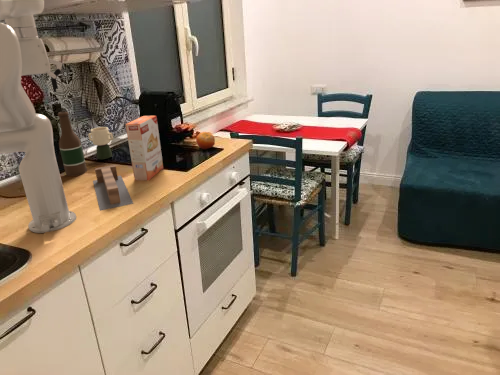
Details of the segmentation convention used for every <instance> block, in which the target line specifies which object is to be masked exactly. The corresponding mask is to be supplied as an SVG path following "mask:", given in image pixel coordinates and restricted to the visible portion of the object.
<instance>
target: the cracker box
mask: <svg viewBox="0 0 500 375" xmlns="http://www.w3.org/2000/svg"><path fill="white" fill-rule="evenodd" d="M157 117H158V116H157V115H143V116H142V115H141V116H140V117H138V118H136V119H134V120H131V121H129V122H127V123H125V129H126V135H127V143H128V147H129V154H130V159H131V167H132V171H133V178H134V181H150V180H151V179H152V178H153V177H154V176H155V175H157V174H158V173H159V172H160V171H162V170H164V163H163V156H162V150H161V149H162V146H161V140H160V133H159V124H158V118H157Z"/></svg>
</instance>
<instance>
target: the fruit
mask: <svg viewBox="0 0 500 375" xmlns="http://www.w3.org/2000/svg"><path fill="white" fill-rule="evenodd" d="M195 140H196V144H197V146H198V147H199V148H200V149H201V150H208V149H210V148H213V147H214V146H215V144H216V143H215V142H216V139H215V136H214V135H213V134H212V133H211V132H207V131H202V132H200V133H199V134H198V135H197V136H196V137H195Z"/></svg>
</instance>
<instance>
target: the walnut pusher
mask: <svg viewBox="0 0 500 375" xmlns="http://www.w3.org/2000/svg"><path fill="white" fill-rule="evenodd" d="M94 171H95V175H96V180H97V182H98V183H102V182H104V184H105V188H106V191H107V194H108V197H109V200H110V204H116V203H121V201H120V196H119V191H118V187H117V184H116V182H115V180H118V176H119V175H118V171H117V166H116V165H115V164H112V165H108V166H107V165H106V166H101V167H97V168H94Z"/></svg>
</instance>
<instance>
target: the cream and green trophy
mask: <svg viewBox="0 0 500 375" xmlns="http://www.w3.org/2000/svg"><path fill="white" fill-rule="evenodd" d="M109 130H110V129H109V128H108V127H107V126H100V127H99V126H98V127H95V128H91V129H90V132H89V133H88V135H87V136H88V140H89V141H91V142H92V143H93V145H94V146H96V148H95V149H96V158H97V159H98V160H105V159H110V158H111V157H113V153H112V150H111V147H110V145H109V144H110V143H111V141H114V135H113V132H110V131H109Z"/></svg>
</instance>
